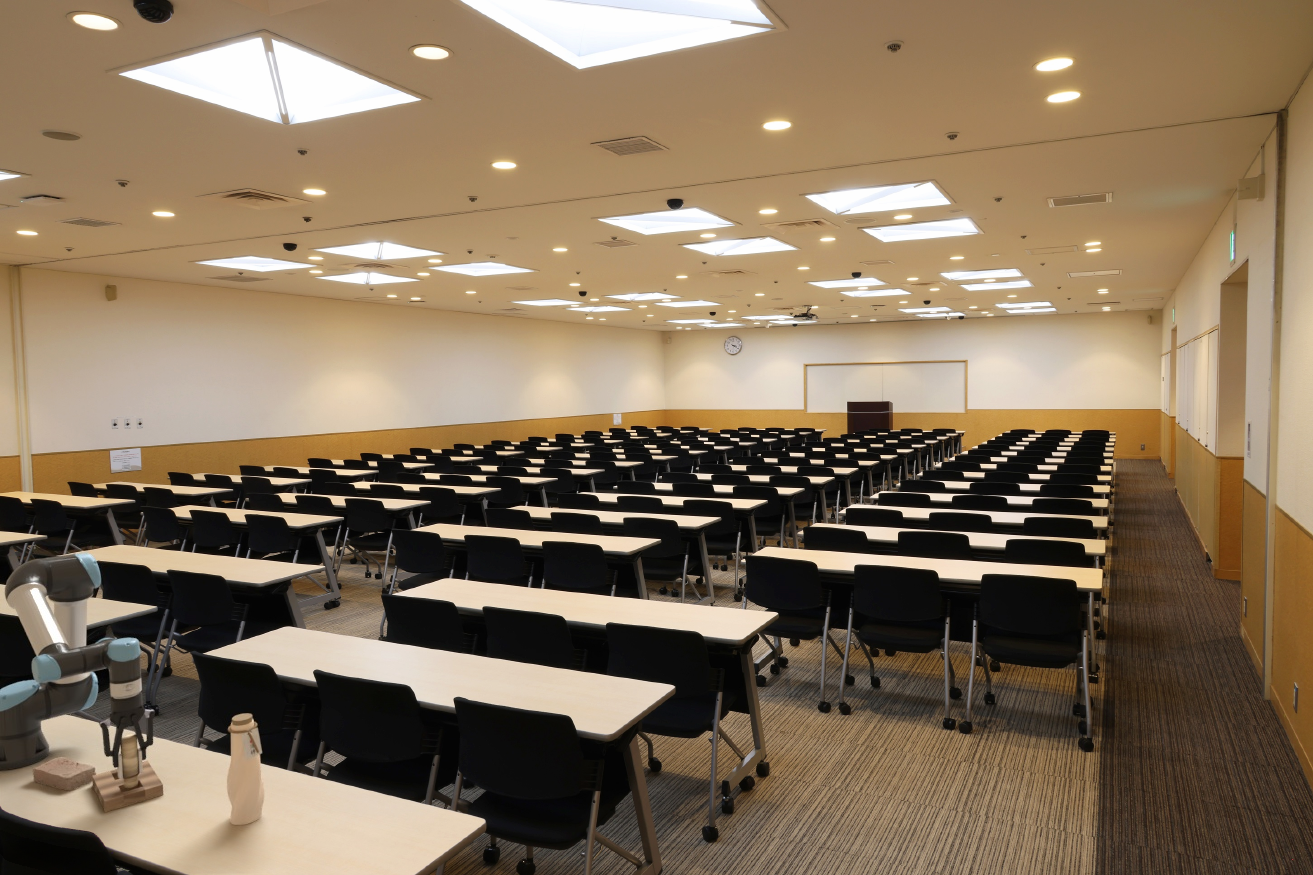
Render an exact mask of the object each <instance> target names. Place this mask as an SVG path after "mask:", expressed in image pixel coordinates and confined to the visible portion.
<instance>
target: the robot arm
mask: <svg viewBox="0 0 1313 875" xmlns="http://www.w3.org/2000/svg"><path fill="white" fill-rule="evenodd" d="M101 584H102V577H101V571H100V568H99V565H98V562H97V560H96V558H95V556H94V555H92V554H91V553H88V552H84V553H83V552H81V553H77V552H76V553H72V554H71V553H70V554H65V555H57V556H51V557H45V558H36V559H35V558H34V559H31V560H28V561H26V562H24V563H22V564H21V565H19V566H18V567H16V569H15V570H13V571H12V573H11V574H10V575H9V577H8V579H7V580H6V584H5V586H4V598H5V600H6V602H7V603H6V604H8V606H9V607H10V608H11V609H13V610H15V612H16V614H17V617H18V618H19V620H20V623H21V625H22V627H23V629H24V632H25V633H26V636H27V638H28V640H29V642H30V644H31V647H32V649H33V651H34V654H35V655H36V656H35V657H34V658H32V661H31V673H32V676H33V679H28V680H22V681H17V682H14V683H12V684H9V685H6V686H4V687H2V688H1V689H0V771H7V770H8V771H9V770H13V769H19V768H23V767H26V766H29V765H32V764H36V763H38V762H40V761H42V760H44V759H46V758H47V757H48V756H49V755H50V744H49V742H48V741H47V739H46V737H45V734H44V732H43V730H42V721H46V720H50V719H54V718H58V717H61V716H66V715H69V714H73V713H78V712H81V711H83V710H86V709H89V708H91V707H92V706H93V705H94V704H95V702H96V700H97V697H98V694H99V693H98V692H99V685H98V683H99V681H98V676H97V675H96V673H95V672H96V671H100V670H104V669H105V670H106V669H108V673H109V674H108V675H109V677H108V678H109V695H110V697H111V698H110V715H108V718H106V719H105V720H100V721H99V722H98V725H99V727H100V728H101V733H102V743H103V752H104V756H105V757H106V758H108V757H112V766H113V768H114V769H118V777H119V779H123V772H122V756H121V752H120V751H121V746H120V744H121V739H122V737H123V733H124V730H125V729H127V728H128V727H132V728H133V730H134V733H135V735H137V744H138V746H139V747H138V768H139V773H140V774H141V773H143V767H142V762H143V761H145V760H146V761H147V749H148V747H149V746H153V745H154V718H155V715H156V711H155V710H154V709H153V708H150V709H146V708H145V707H144V704H143V693H142V692H141V691H142V690H143V687H142V686H143V685H142V665H141V664H142V663H141V662H142V661H141V647H140V641H139V639H137V638H136V637H135V638H134V637H123V638H122V637H121V638H118V639H117V638H112V637H103V638H101V639H99V640H97V641H96V642H95V643H92V644H89V645H87V624H88V623H87V620H88V600H90V598H92V597H93V595H94V589H97V588H100V587H101ZM46 597H47V598H48V600H49V601H50V602H52V603H53V610H52V608H51V605H50V603H49V602H48V600H47V598H46ZM143 716H144V718H146V719H145V721H146V722H145V723H146V728H145V731H146V741H145V738H144V736H143V733H142V730H141V727H140V724H139V722H140V720H141V719H142V717H143ZM111 723H112V724H113V725H115V726H116V728H115V735H114V739H113V740H114V741H113V746H112V749H111V740H110V730H109V728H110V727H111Z"/></svg>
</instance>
